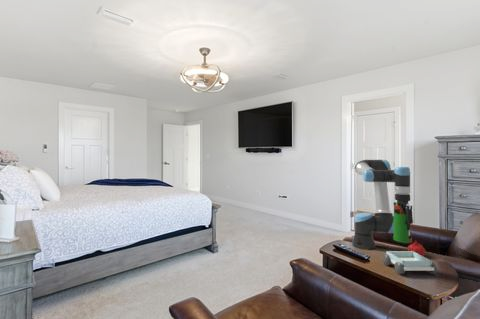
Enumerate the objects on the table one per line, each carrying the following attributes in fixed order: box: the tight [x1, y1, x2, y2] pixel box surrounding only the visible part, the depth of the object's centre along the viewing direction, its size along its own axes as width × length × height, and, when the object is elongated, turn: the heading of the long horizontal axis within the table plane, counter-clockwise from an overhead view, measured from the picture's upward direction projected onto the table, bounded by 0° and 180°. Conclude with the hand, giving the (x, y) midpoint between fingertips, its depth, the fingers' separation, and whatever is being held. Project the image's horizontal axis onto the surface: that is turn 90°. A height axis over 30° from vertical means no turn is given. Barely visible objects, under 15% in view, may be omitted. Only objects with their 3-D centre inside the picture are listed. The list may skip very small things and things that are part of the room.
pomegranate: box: [407, 240, 427, 257], centre depth 167 cm, size 10×10×9 cm
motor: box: [392, 205, 413, 244], centre depth 147 cm, size 10×9×20 cm
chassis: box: [382, 250, 438, 275], centre depth 145 cm, size 18×19×8 cm
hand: (402, 233), depth 147 cm, fingers closed on motor, 7 cm apart
